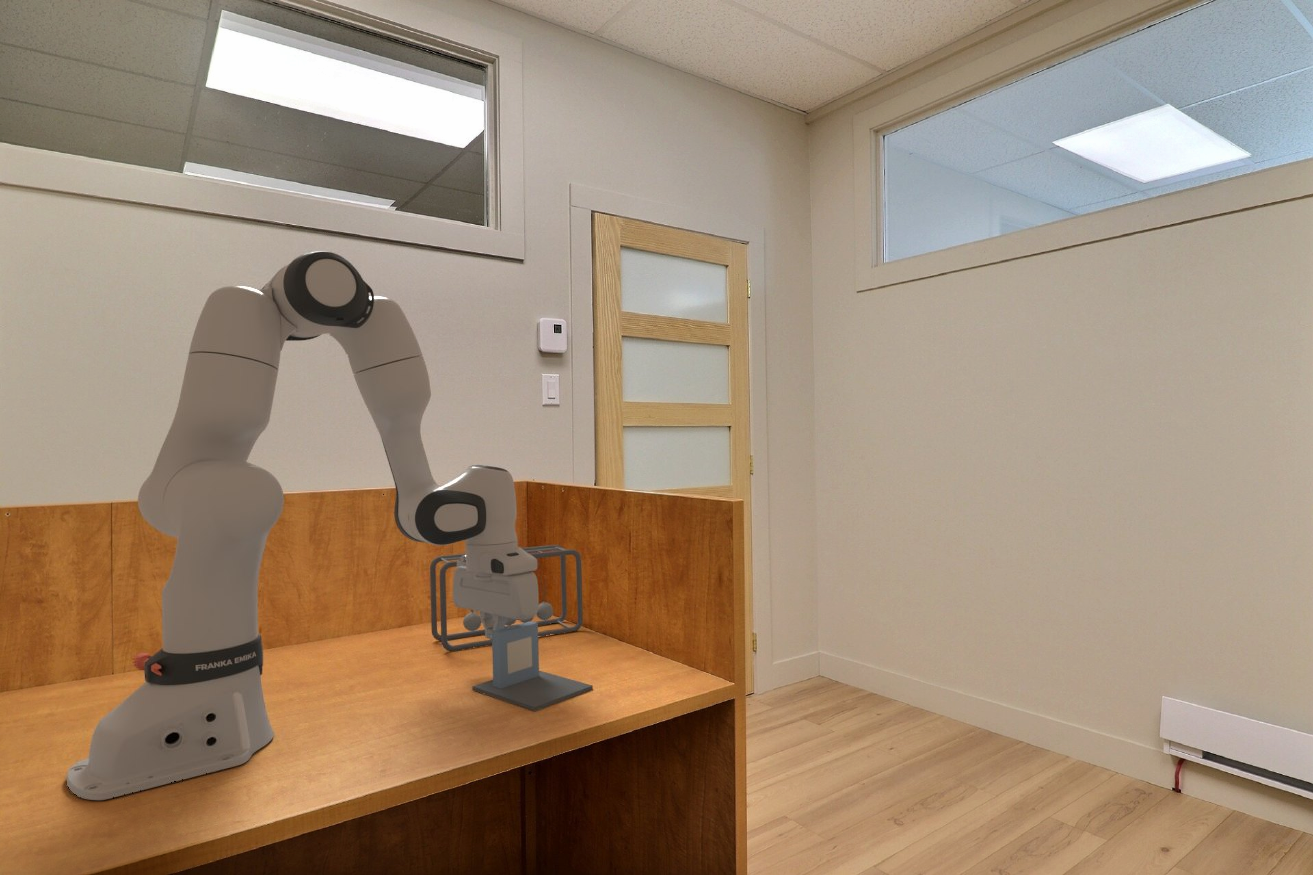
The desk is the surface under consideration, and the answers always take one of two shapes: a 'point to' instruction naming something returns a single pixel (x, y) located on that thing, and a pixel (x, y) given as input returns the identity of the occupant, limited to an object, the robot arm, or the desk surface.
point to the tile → (515, 654)
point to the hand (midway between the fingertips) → (494, 638)
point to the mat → (536, 691)
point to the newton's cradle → (474, 621)
